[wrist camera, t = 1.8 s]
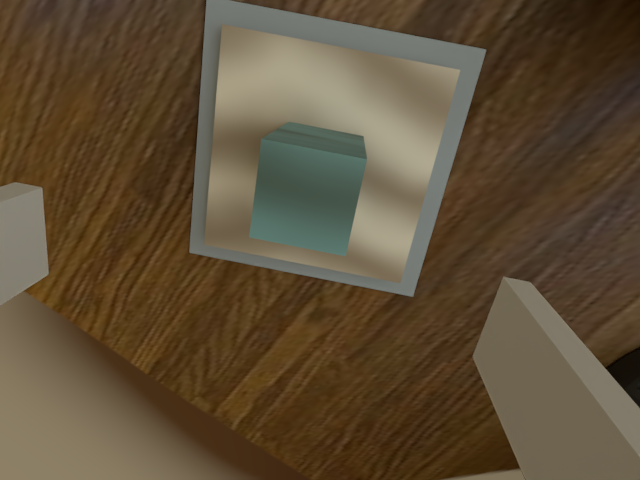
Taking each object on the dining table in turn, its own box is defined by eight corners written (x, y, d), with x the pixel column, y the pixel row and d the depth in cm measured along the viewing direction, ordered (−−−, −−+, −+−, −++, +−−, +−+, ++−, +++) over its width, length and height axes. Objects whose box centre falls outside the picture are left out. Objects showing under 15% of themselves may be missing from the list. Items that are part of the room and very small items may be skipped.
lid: (398, 276, 32) (416, 355, 23) (209, 238, 32) (150, 302, 23) (456, 70, 27) (510, 64, 17) (227, 26, 27) (160, -3, 18)
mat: (412, 294, 33) (412, 296, 33) (191, 250, 33) (189, 252, 33) (484, 49, 27) (486, 49, 26) (208, -3, 27) (206, -5, 26)
